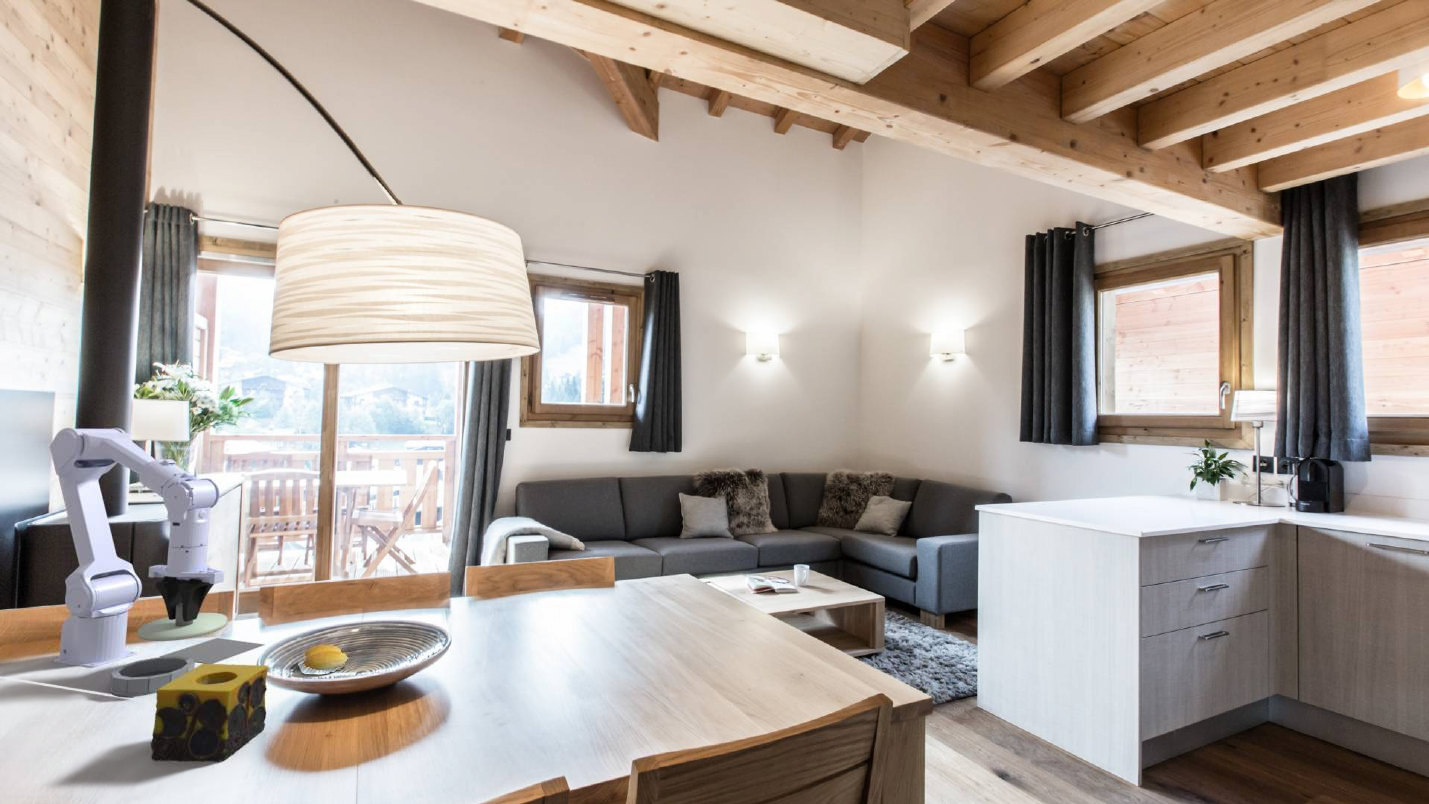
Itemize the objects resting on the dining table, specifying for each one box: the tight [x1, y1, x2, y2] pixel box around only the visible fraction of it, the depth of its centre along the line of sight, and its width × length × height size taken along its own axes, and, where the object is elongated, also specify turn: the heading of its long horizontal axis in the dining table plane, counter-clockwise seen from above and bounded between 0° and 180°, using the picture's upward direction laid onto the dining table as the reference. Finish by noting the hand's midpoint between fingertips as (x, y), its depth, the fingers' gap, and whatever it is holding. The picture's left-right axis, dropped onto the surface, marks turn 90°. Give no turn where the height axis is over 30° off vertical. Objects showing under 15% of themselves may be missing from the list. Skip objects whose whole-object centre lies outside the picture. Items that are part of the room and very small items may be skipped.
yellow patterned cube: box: [150, 663, 269, 762], centre depth 99 cm, size 10×10×10 cm
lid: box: [137, 603, 228, 642], centre depth 125 cm, size 13×13×4 cm
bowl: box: [109, 656, 196, 699], centre depth 118 cm, size 11×11×3 cm
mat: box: [158, 637, 266, 664], centre depth 135 cm, size 12×12×1 cm
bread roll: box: [303, 644, 349, 670], centre depth 130 cm, size 8×9×4 cm
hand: (182, 619), depth 125 cm, fingers closed on lid, 3 cm apart
